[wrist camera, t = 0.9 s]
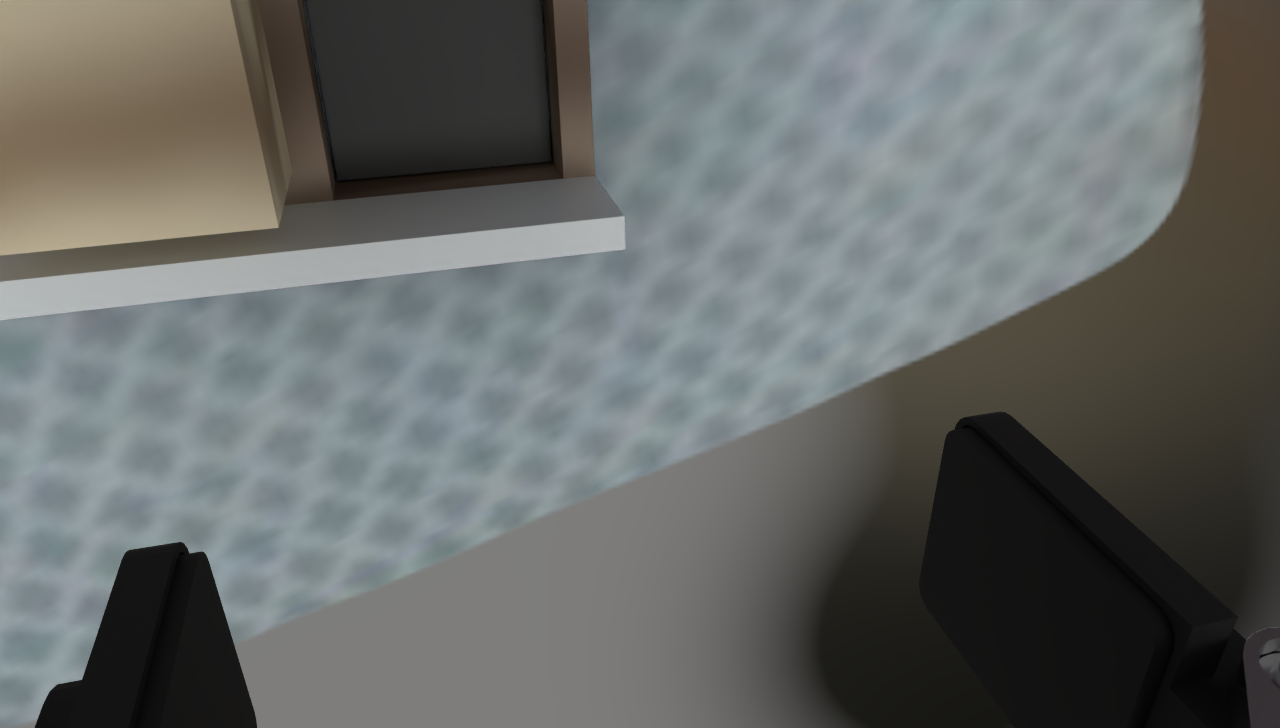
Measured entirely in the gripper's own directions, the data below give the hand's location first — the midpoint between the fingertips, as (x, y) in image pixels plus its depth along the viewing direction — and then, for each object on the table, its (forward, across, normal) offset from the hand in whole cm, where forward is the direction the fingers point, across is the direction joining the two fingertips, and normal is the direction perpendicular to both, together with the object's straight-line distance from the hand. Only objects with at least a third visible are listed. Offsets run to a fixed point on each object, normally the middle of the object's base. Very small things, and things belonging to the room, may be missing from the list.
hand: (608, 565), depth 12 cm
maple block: (+20, +9, -2) cm, 21 cm away
